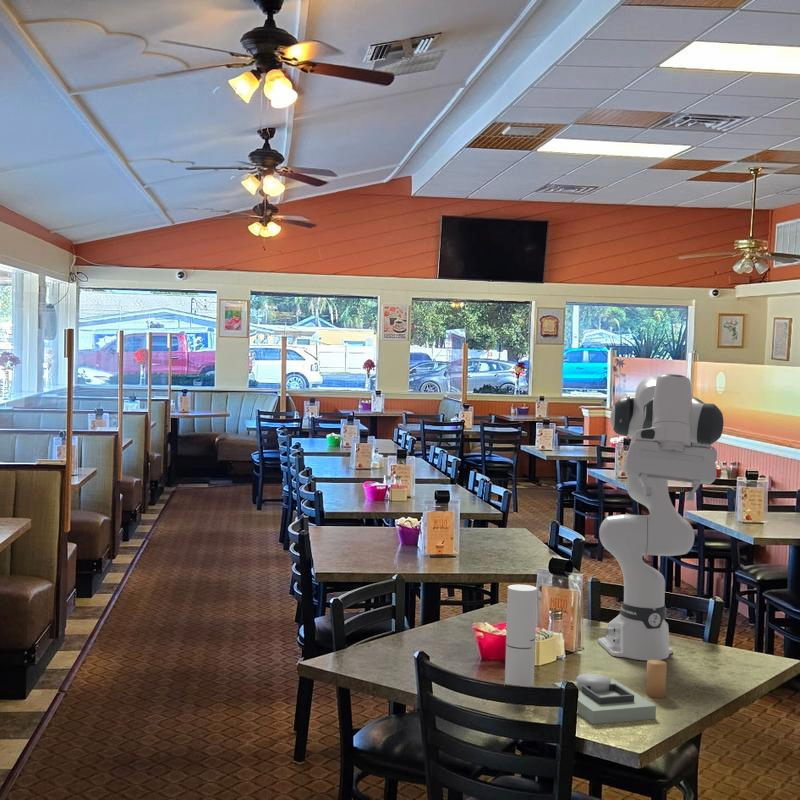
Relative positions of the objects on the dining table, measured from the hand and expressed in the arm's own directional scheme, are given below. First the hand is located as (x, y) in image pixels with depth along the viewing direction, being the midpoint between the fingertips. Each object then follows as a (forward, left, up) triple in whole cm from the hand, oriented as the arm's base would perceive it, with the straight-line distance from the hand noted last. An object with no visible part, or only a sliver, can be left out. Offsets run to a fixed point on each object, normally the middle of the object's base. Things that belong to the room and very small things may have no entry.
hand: (668, 497), depth 221 cm
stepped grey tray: (-12, -8, -51) cm, 53 cm away
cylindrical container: (-29, -22, -51) cm, 63 cm away
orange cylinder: (-17, +9, -51) cm, 55 cm away
